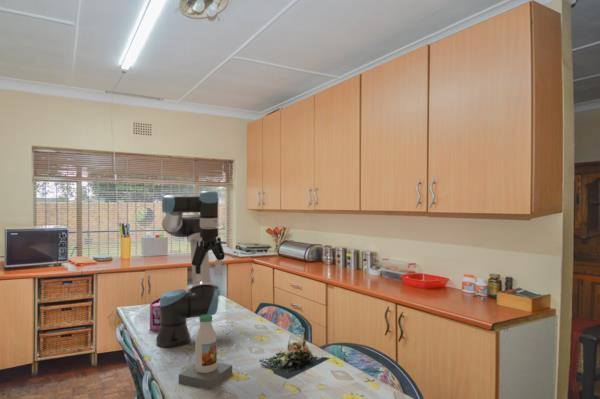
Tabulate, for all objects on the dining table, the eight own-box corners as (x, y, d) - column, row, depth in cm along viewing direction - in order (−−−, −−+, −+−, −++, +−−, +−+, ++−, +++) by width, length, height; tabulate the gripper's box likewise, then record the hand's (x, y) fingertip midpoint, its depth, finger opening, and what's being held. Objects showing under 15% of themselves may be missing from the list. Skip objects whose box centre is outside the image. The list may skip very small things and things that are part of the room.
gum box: (163, 331, 201) (162, 304, 201) (148, 331, 202) (147, 304, 202) (181, 317, 225) (181, 293, 225) (167, 317, 226) (167, 292, 226)
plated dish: (294, 341, 188) (294, 326, 188) (344, 357, 170) (344, 340, 170) (237, 366, 162) (237, 348, 161) (289, 388, 143) (289, 368, 143)
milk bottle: (193, 374, 145) (193, 319, 145) (197, 365, 153) (197, 313, 153) (215, 373, 146) (215, 318, 146) (217, 364, 153) (217, 312, 153)
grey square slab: (178, 382, 145) (178, 374, 145) (201, 367, 158) (201, 359, 158) (211, 389, 140) (211, 380, 140) (232, 372, 153) (232, 364, 153)
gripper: (198, 231, 155) (198, 285, 156) (232, 225, 178) (232, 272, 179) (182, 230, 158) (182, 283, 159) (218, 224, 181) (218, 271, 182)
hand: (209, 278), depth 169 cm, fingers open, 13 cm apart
